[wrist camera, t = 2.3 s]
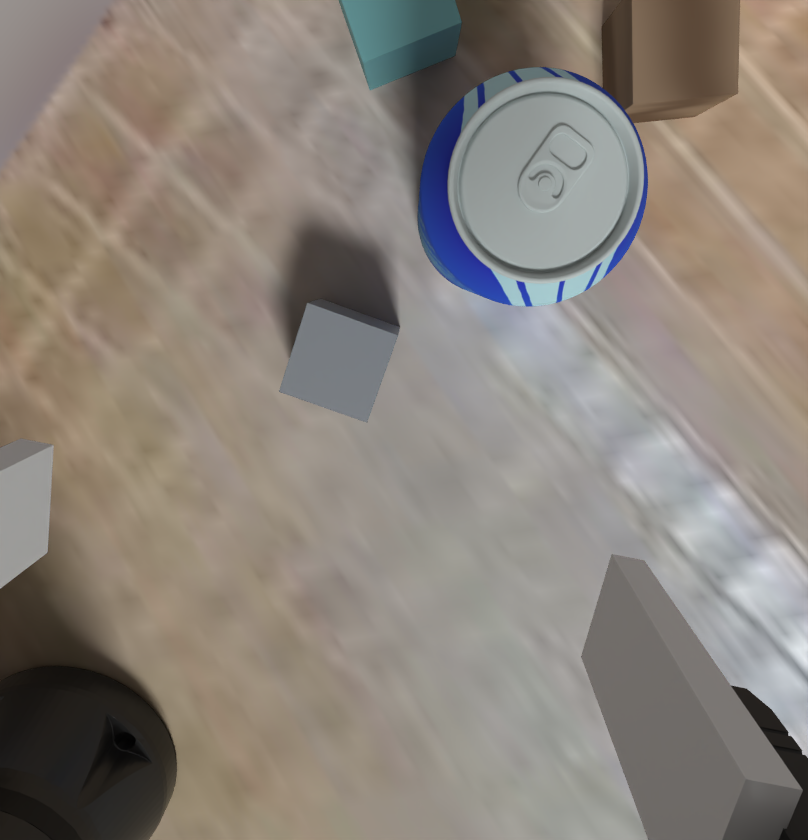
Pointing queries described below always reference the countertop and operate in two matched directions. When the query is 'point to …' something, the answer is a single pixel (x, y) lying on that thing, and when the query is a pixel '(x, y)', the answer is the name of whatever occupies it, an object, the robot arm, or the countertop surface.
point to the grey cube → (339, 359)
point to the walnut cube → (671, 56)
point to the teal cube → (401, 35)
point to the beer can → (532, 187)
